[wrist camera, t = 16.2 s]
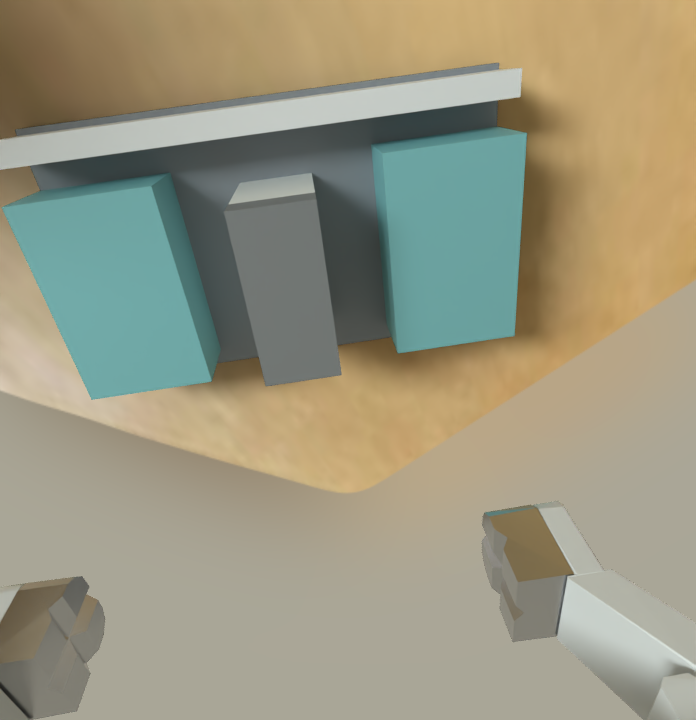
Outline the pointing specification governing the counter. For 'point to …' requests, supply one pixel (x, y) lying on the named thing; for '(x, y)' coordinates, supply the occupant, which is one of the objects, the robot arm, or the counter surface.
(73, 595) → the robot arm
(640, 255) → the counter surface
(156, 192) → the board
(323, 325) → the block
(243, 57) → the counter surface
